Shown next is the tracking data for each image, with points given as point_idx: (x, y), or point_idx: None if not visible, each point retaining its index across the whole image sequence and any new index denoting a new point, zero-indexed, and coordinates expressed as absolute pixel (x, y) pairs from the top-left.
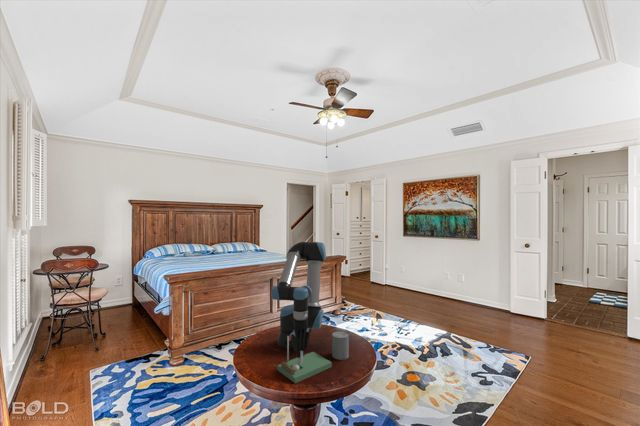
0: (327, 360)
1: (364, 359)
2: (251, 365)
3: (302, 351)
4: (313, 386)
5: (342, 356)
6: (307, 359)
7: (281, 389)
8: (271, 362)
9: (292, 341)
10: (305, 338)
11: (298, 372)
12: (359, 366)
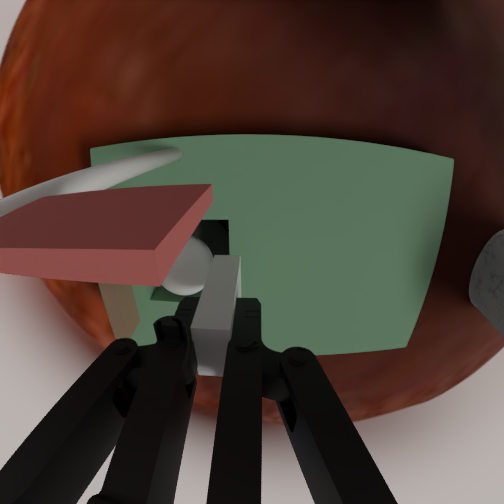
0: (412, 321)
1: (493, 345)
2: (43, 28)
3: (222, 375)
4: (201, 385)
5: (482, 313)
6: (342, 225)
7: (74, 317)
8: (134, 30)
9: (43, 444)
10: (318, 477)
11: None
12: (447, 373)
